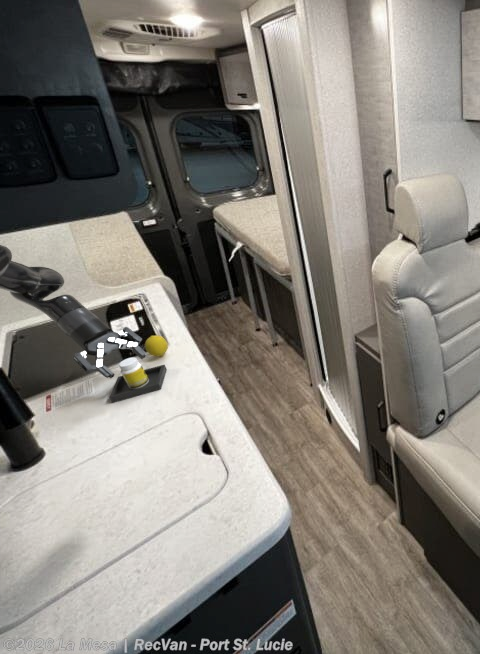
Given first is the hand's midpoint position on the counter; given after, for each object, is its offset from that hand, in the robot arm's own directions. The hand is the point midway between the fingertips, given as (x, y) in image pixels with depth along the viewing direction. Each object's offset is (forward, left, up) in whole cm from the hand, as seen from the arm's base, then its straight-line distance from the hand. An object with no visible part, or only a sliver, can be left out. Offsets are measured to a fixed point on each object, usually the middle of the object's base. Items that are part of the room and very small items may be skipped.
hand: (129, 366), depth 111 cm
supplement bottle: (+1, -1, -6) cm, 7 cm away
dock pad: (+1, -1, -7) cm, 7 cm away
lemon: (+4, +13, -7) cm, 15 cm away
